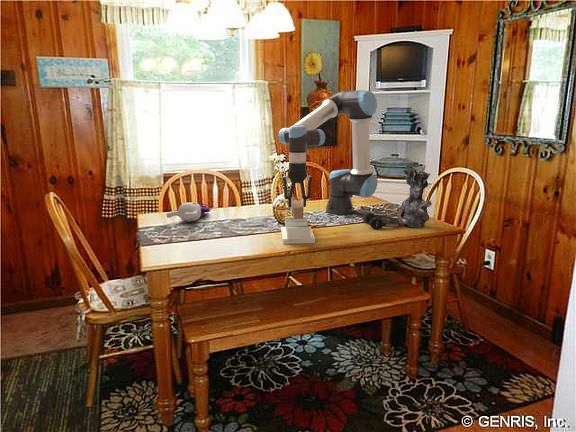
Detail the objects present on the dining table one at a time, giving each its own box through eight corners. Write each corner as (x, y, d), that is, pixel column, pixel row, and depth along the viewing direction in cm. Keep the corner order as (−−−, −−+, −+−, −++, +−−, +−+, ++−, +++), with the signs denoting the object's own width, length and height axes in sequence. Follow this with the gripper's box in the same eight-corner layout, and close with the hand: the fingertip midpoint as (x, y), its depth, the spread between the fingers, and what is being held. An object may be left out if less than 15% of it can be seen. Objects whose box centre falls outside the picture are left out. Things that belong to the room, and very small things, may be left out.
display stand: (281, 230, 209) (280, 216, 207) (310, 230, 210) (310, 216, 208) (282, 243, 191) (282, 228, 189) (315, 243, 192) (315, 227, 190)
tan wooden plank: (291, 211, 205) (291, 200, 203) (300, 210, 205) (300, 200, 204) (293, 219, 190) (293, 207, 189) (303, 218, 190) (303, 207, 189)
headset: (357, 203, 221) (394, 206, 224) (354, 221, 223) (391, 224, 227) (366, 209, 208) (405, 212, 212) (363, 229, 210) (402, 231, 214)
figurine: (220, 201, 239) (189, 203, 211) (220, 219, 239) (190, 223, 211) (195, 201, 244) (161, 203, 216) (195, 218, 245) (162, 223, 217)
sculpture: (415, 231, 208) (420, 168, 201) (392, 223, 221) (395, 164, 213) (435, 226, 216) (441, 165, 208) (412, 219, 228) (416, 162, 220)
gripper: (278, 163, 188) (278, 216, 193) (318, 163, 188) (317, 215, 194) (277, 160, 195) (277, 212, 201) (316, 160, 196) (315, 211, 202)
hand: (297, 213), depth 198 cm, fingers closed on tan wooden plank, 4 cm apart
